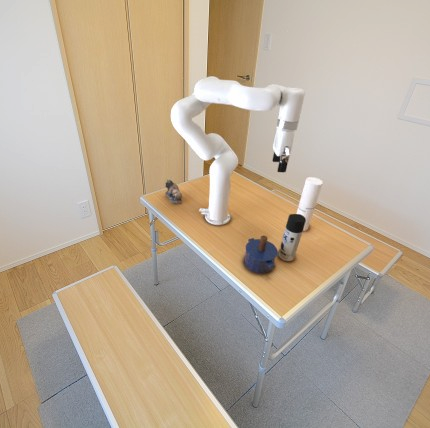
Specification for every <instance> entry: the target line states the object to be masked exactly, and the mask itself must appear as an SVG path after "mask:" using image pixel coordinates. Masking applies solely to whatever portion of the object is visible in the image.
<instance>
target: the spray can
mask: <svg viewBox="0 0 430 428" xmlns="http://www.w3.org/2000/svg"><path fill="white" fill-rule="evenodd" d="M305 222H306V219H305V217H304V216H302V215H300V214H296V213H290V214H289V215H288V217H287V221H286V223H285V228H284V232H283V235H282V239H281V243H280V246H279V250H278V257H279V258H280V259H281V261H284V262H292V261H294V259H295V257H296V254H297V251H298V247H299V244H300V241H301V239H302V235H303V232H304V231H303V229H304V225H305Z"/></svg>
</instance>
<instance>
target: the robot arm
mask: <svg viewBox="0 0 430 428" xmlns="http://www.w3.org/2000/svg"><path fill="white" fill-rule="evenodd" d="M305 94H306V93H305V90H304V89H302V88H301V87H300V88H299V87H295V86H293V87H292V86H291V87H290V86H289V87H288V86H284V85H281V84H276V83H272V84H268V85H267V86H265V87H254V86H253V87H252V86H246V85H243V84H241V83H239V81H238V80H231V79H220V78H218V77H217V76H214V75H213V76H210V75H209V76H207V77H204V78H201V79H199V80H198V81H197V82H196V83H195V84H194V89H193V93H191V95H188V96H186V97H183V98H181V99H179V100H177V101H176V102H175V103H174V104H173V105H172V107H171V111H170V121H171V125H172V126H173V128H174V130H175V131H176V132H177V133H178V134H179V135H180V136H181V137H182V138H183V139H184V140H185V142H186V143H187V144H188V146H190V148H191V149H192V150H193V151H194V153H195V154H196V155H197V156H198V157H199V158H200V159H201V160H202V161H204V162H205V161H206V162H208V161H210V160H212V159H213V158H214V160H213V162H212V163H211V164H210V165H209V172H208V173H209V196H208V197H209V198H208V207H206V208H203V207H199V213H200V214H201V215H203V216H204V219H205V221H206V222H208V223H209V224H211V225H215V226H223V225H226V224H228V223H229V222H230V220H231V215H230V213H229V206H230V196H231V187H232V186H231V177H232V174H233V173H234V172H235V170H236V169H237V168H238V165H239V157H238V155H237V154H236V153H235V152H234V150H233V149H232V148H231V147H230V145H229V144H228V143H227V142H226V140H225V139H224V138H223V137H222V136H221V135H220V134H218V133H215V132H210V133H208V134H207V133H206V132H205V131H204V130H203V129H202V127H201V126H200V125H199V124H197V123H196V122H194V121H193V118H195V117H197V116H199V115H200V114H201V113H203V112H204V111H205V110H207V108H208V107H210V106H211V105H212V104H219V105H229V106H234V107H237V108H240V109H243V110H247V111H259V112H269V111H272V110H273V109H275V108H276V107H279V111H278V116H277V122H276V131H275V134H274V139H273V144H272V150H273V156H272V162H273V163H278V166H277V173H286V172H287V168H288V164H289V159H290V157H291V152H292V148H293V145H294V144H293V143H294V137H295V132H296V131H297V130H298V126H299V121H300V117H301V113H302V108H303V104H304V100H305V96H306V95H305Z"/></svg>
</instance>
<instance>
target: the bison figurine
mask: <svg viewBox="0 0 430 428" xmlns="http://www.w3.org/2000/svg"><path fill="white" fill-rule="evenodd" d="M165 188H166V189H167V190H166V192H165V193H164V195H165V197H167V198H168V199H169V202H171V203H172V204H181V203H183V196H182V193H181V190H180V188H179V186H178V184H177V183H176V182H173V180H172V179H166V182H165Z"/></svg>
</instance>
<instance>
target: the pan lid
mask: <svg viewBox="0 0 430 428" xmlns="http://www.w3.org/2000/svg"><path fill="white" fill-rule="evenodd" d="M268 239H269V238H268V236H266V235H264V234H263V235H261V236H260V238H254V240H251V241H248V242H247V243H246V245H245V253H246V252H247V254H248V255H249V256H250V257H252V258H253V259H255V260H258V261H271V260H273V259H275V260H276V258H277V256H278V255H279V250H278V248H277V246H276V245H275V244H273V243H272V242H271V241H269V240H268Z"/></svg>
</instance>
